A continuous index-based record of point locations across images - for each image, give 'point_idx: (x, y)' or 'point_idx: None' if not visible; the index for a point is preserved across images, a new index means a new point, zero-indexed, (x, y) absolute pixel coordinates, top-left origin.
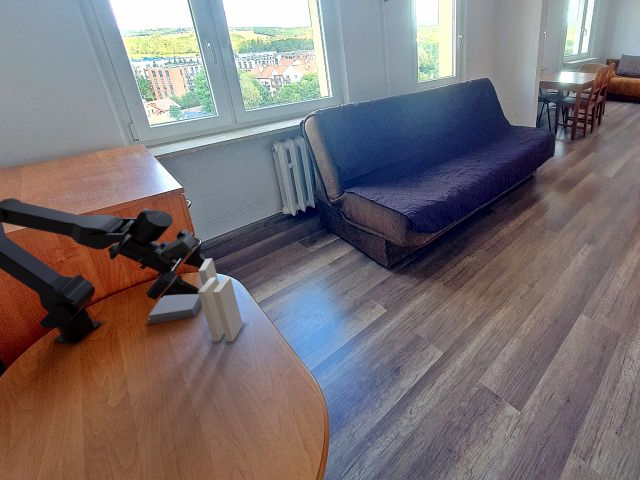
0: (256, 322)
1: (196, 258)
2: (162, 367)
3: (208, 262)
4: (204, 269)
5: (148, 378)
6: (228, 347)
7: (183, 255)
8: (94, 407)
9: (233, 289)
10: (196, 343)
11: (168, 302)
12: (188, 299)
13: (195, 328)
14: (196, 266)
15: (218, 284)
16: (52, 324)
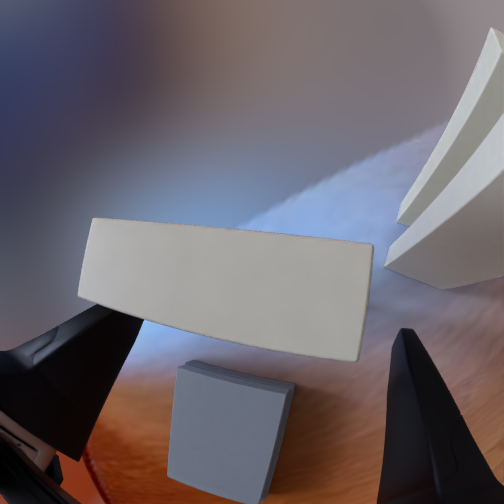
0: (396, 165)
1: (49, 390)
2: (470, 407)
3: (161, 240)
4: (353, 260)
5: (484, 424)
6: None
7: (25, 485)
8: None
9: (465, 94)
10: (430, 343)
11: (211, 466)
12: (219, 412)
13: (360, 366)
14: (105, 393)
15: (485, 141)
16: None
